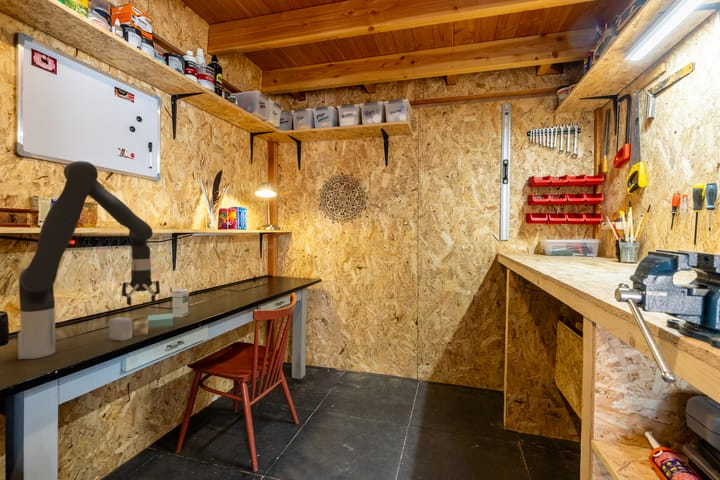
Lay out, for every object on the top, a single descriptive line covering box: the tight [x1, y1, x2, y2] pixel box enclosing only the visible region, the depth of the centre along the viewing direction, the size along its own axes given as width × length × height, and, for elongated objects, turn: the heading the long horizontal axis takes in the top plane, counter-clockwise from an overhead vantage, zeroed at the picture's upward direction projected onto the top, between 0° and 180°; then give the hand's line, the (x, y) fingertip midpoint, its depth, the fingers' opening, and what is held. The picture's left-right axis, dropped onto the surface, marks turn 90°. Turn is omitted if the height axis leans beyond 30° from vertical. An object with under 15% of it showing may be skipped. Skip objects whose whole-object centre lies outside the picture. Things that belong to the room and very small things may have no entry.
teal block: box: [146, 312, 174, 329], centre depth 166 cm, size 11×11×4 cm
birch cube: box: [133, 320, 149, 336], centre depth 151 cm, size 5×5×5 cm
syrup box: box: [172, 288, 190, 318], centre depth 182 cm, size 6×6×14 cm
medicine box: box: [108, 316, 133, 342], centre depth 144 cm, size 8×4×9 cm, turn 74°
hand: (141, 304), depth 151 cm, fingers open, 8 cm apart
